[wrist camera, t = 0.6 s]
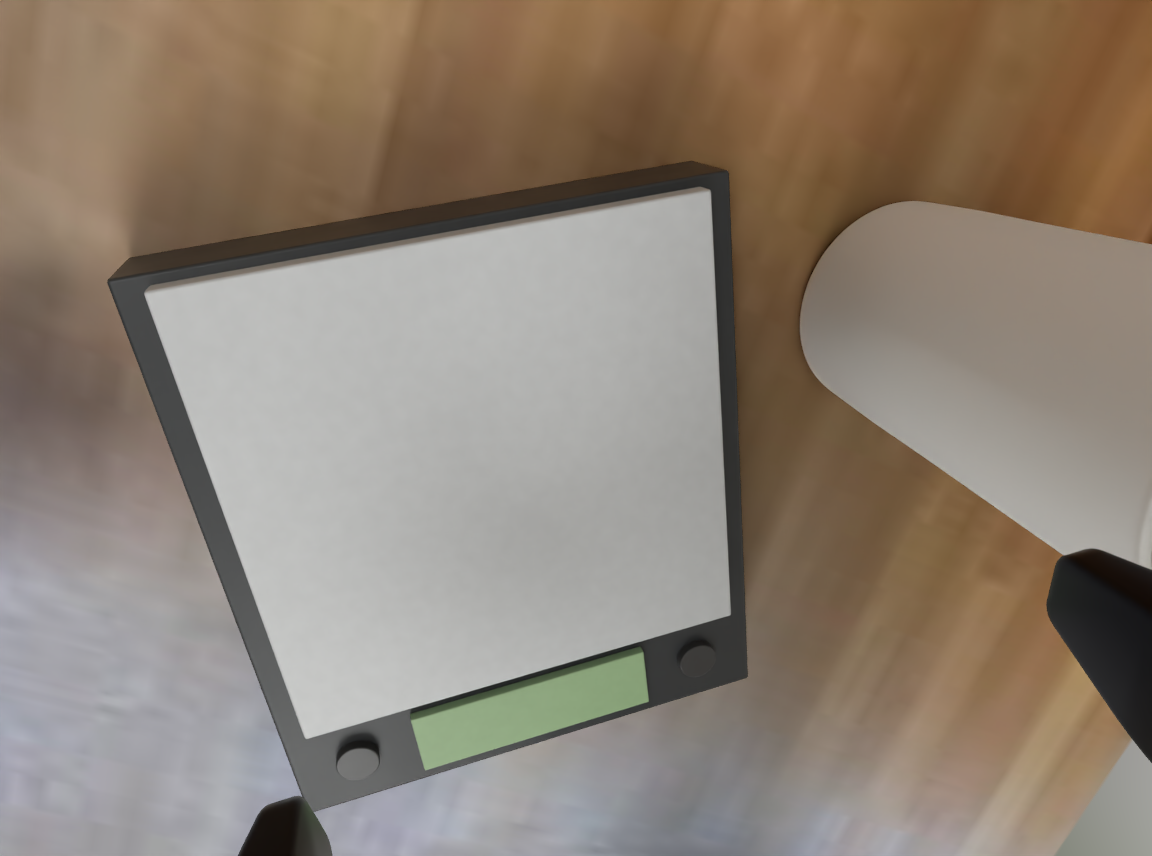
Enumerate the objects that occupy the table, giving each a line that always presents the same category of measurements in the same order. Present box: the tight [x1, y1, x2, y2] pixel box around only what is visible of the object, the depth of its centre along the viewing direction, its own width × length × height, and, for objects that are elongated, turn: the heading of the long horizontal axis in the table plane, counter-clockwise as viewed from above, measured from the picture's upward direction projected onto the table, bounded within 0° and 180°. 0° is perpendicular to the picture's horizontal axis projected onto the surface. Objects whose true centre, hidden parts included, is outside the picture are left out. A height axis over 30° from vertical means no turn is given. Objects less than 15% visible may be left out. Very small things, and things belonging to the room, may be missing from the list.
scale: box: [107, 161, 748, 812], centre depth 22 cm, size 16×14×3 cm
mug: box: [800, 201, 1152, 570], centre depth 20 cm, size 10×7×12 cm, turn 67°
